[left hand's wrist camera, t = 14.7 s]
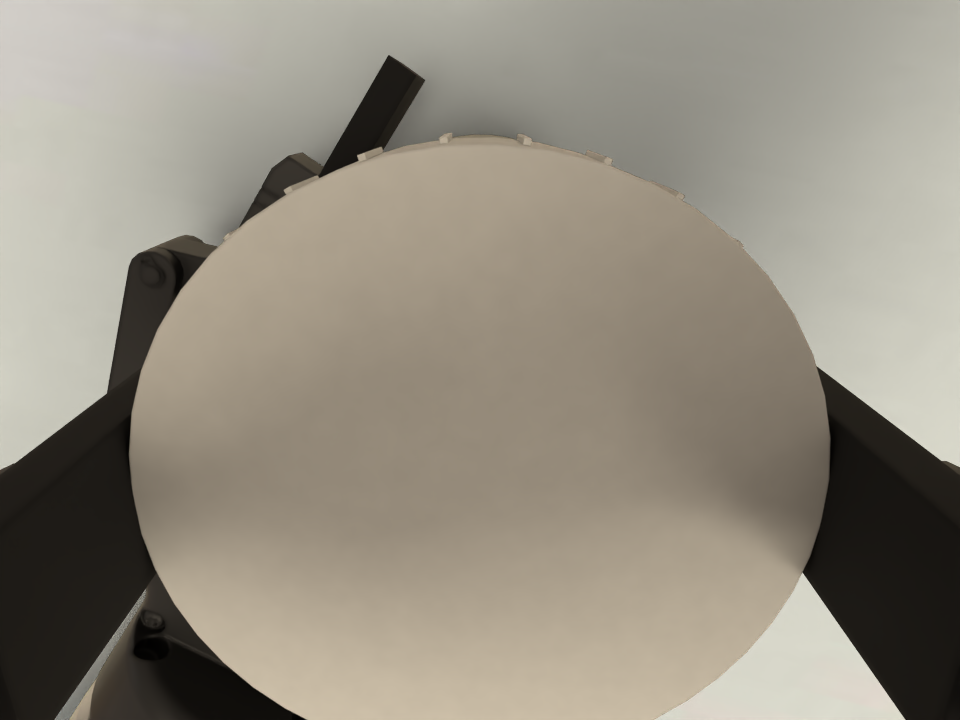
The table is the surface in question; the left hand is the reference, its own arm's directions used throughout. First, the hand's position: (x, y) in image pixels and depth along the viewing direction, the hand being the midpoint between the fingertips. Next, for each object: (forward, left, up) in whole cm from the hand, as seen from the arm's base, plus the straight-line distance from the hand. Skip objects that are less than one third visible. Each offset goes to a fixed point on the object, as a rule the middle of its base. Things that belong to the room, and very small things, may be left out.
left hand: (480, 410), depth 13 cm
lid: (0, 0, +3) cm, 3 cm away
